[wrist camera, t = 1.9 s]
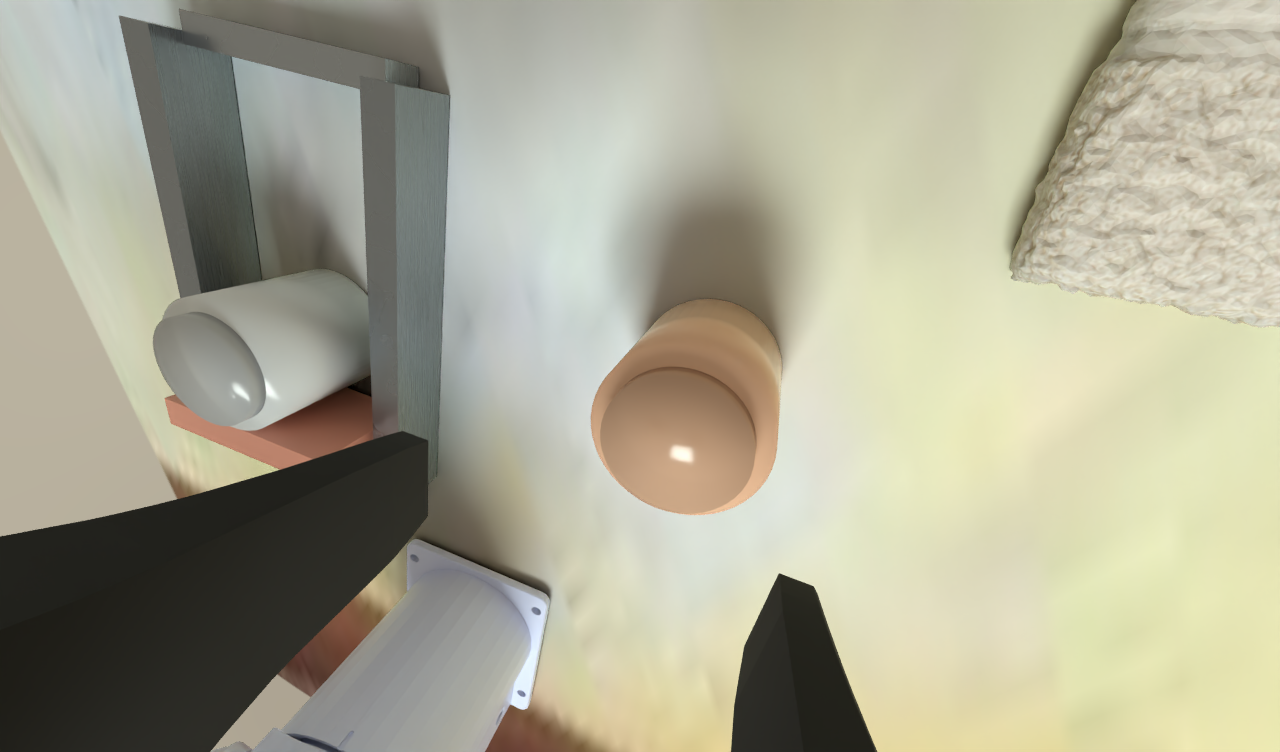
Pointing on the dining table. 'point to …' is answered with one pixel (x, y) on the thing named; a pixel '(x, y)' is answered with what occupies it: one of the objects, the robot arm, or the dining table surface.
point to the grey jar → (265, 347)
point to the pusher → (290, 429)
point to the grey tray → (220, 200)
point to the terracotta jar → (693, 409)
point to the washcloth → (1171, 168)
